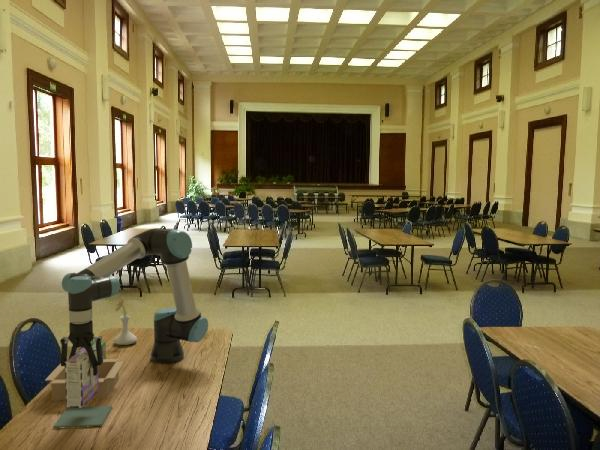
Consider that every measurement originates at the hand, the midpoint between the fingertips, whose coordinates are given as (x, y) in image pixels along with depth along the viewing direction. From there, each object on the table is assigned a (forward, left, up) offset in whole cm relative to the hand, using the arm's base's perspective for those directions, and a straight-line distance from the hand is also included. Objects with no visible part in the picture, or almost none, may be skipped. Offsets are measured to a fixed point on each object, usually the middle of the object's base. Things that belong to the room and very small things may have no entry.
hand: (82, 384), depth 180 cm
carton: (+6, -24, -13) cm, 28 cm away
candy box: (0, 0, -6) cm, 6 cm away
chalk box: (+9, -44, -13) cm, 47 cm away
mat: (0, 0, -13) cm, 13 cm away
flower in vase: (+3, -78, -13) cm, 79 cm away
